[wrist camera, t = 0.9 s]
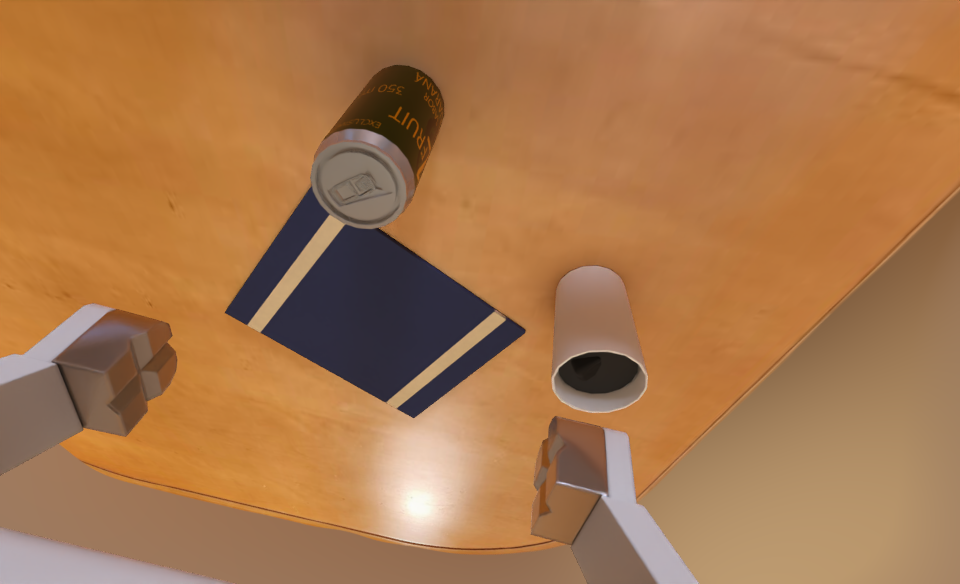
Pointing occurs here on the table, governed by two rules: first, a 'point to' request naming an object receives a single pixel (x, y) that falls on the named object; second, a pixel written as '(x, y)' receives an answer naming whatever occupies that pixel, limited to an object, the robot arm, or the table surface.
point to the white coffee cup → (596, 343)
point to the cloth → (369, 310)
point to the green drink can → (378, 148)
